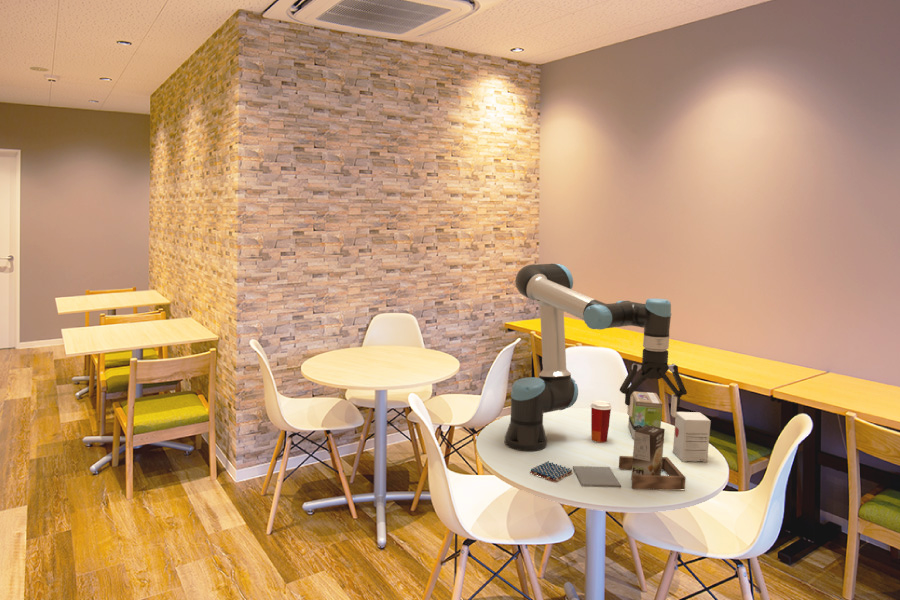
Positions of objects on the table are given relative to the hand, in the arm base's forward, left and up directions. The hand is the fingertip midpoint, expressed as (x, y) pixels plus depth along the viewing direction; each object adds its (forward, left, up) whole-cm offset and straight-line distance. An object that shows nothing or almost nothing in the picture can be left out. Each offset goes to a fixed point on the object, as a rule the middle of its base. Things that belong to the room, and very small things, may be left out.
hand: (651, 415), depth 196 cm
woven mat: (-30, +2, -21) cm, 37 cm away
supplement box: (+21, +19, -21) cm, 35 cm away
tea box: (+12, +42, -21) cm, 49 cm away
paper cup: (-7, +34, -21) cm, 41 cm away
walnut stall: (+1, 0, -21) cm, 21 cm away
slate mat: (-16, 0, -21) cm, 26 cm away
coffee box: (0, 0, -21) cm, 21 cm away
